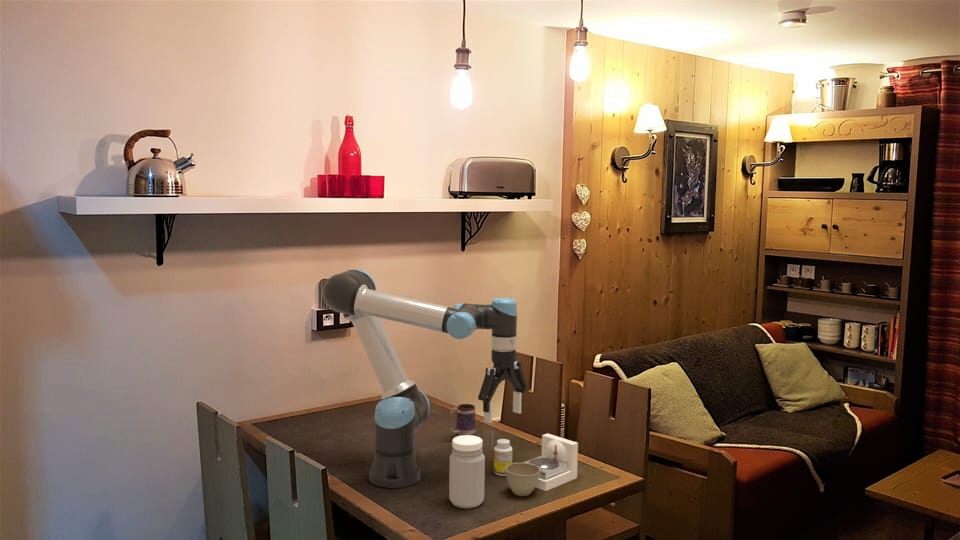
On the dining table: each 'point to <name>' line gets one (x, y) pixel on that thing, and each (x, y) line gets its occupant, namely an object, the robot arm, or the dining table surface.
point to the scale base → (562, 453)
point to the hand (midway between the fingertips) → (502, 417)
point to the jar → (467, 472)
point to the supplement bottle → (502, 456)
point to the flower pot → (522, 477)
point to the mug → (464, 420)
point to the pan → (548, 466)
